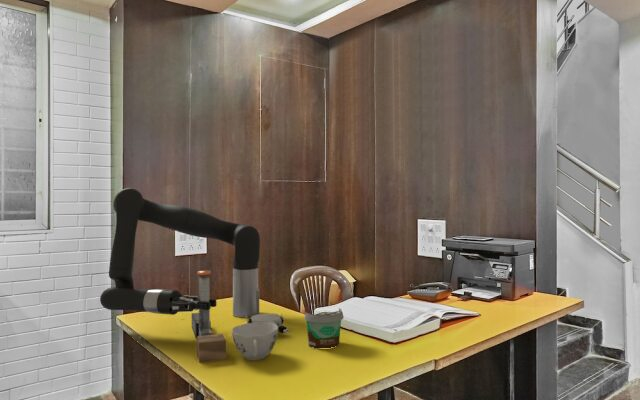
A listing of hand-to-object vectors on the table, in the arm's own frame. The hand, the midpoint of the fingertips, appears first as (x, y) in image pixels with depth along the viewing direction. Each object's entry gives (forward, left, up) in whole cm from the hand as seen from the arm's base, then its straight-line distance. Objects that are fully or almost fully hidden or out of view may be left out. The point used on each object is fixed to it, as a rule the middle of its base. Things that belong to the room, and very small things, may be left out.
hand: (212, 304), depth 139 cm
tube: (+2, -7, -10) cm, 12 cm away
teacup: (-9, +19, -11) cm, 24 cm away
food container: (-31, +17, -11) cm, 37 cm away
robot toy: (-18, -3, -11) cm, 21 cm away
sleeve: (+2, -11, -11) cm, 16 cm away
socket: (+2, +14, -11) cm, 18 cm away
